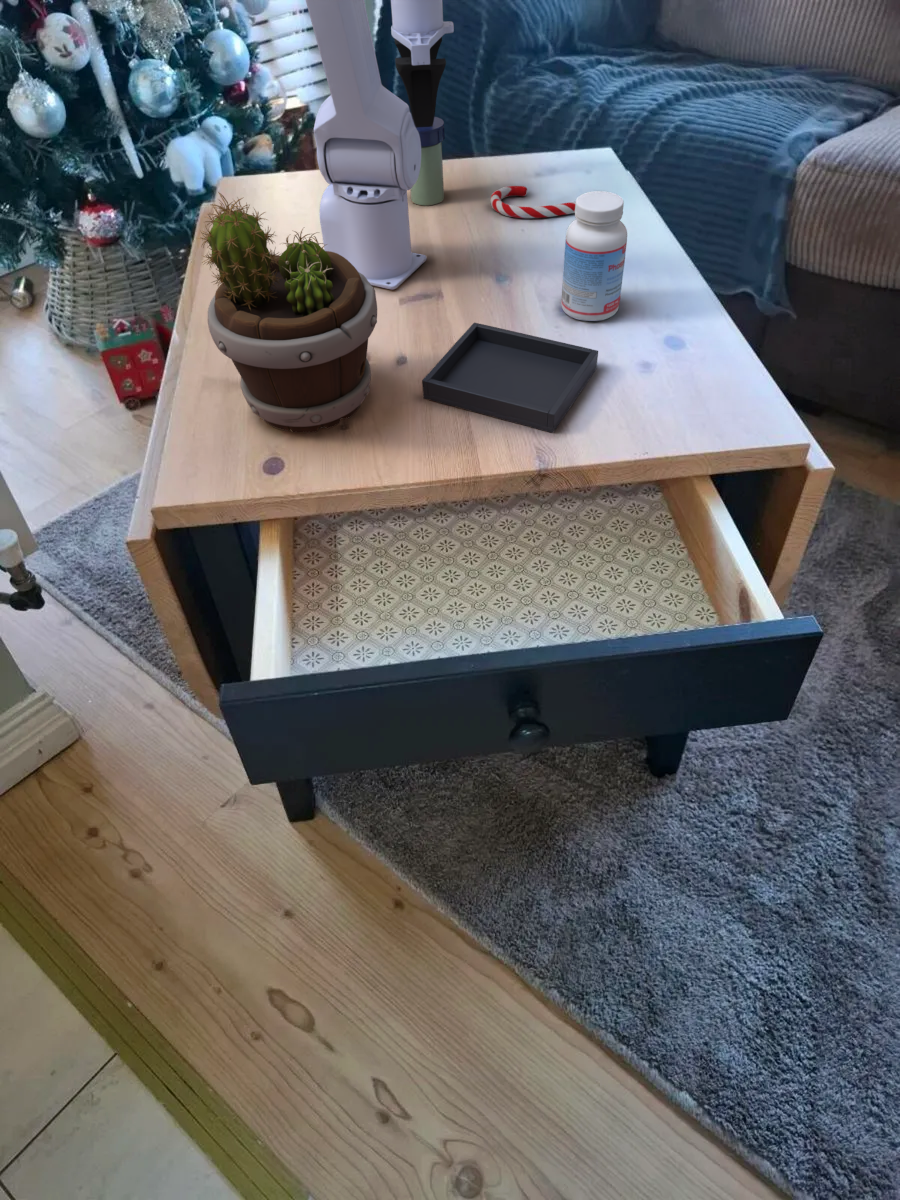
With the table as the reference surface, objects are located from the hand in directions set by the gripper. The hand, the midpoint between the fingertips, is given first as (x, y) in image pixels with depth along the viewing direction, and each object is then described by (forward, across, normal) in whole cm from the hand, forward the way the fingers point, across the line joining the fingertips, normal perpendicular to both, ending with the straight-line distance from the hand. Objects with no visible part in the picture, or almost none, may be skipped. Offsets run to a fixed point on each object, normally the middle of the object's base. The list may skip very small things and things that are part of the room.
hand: (422, 115), depth 102 cm
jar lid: (+1, 0, 0) cm, 1 cm away
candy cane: (+10, -4, -15) cm, 19 cm away
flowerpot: (+10, -44, +13) cm, 47 cm away
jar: (+10, 0, 0) cm, 10 cm away
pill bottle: (+10, -30, -16) cm, 36 cm away
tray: (+10, -43, -6) cm, 44 cm away
